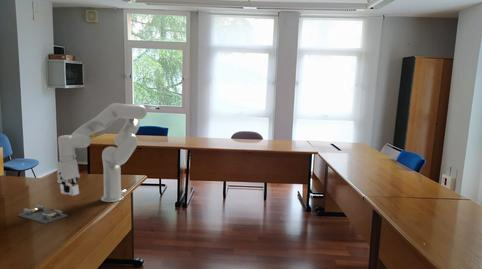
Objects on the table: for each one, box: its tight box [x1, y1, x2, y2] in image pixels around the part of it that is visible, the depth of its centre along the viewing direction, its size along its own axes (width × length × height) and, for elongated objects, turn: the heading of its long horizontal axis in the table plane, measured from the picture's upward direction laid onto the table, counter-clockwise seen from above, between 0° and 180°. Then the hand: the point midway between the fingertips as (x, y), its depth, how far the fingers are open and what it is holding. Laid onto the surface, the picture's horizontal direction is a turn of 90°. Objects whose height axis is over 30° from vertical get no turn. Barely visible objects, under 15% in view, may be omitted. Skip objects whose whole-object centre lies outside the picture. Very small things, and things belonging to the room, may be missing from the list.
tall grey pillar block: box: [59, 182, 80, 197], centre depth 187 cm, size 4×10×5 cm, turn 64°
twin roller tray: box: [23, 204, 63, 220], centre depth 174 cm, size 7×20×2 cm, turn 64°
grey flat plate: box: [17, 208, 68, 224], centre depth 174 cm, size 12×21×1 cm, turn 64°
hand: (69, 190), depth 187 cm, fingers closed on tall grey pillar block, 3 cm apart
